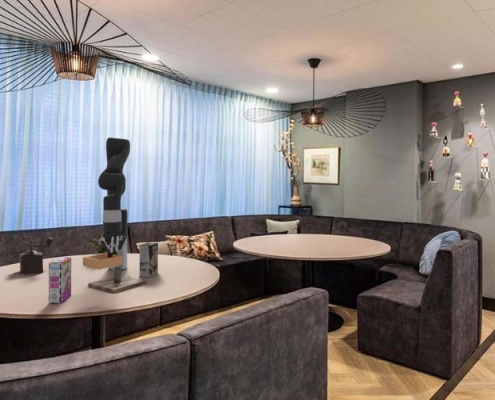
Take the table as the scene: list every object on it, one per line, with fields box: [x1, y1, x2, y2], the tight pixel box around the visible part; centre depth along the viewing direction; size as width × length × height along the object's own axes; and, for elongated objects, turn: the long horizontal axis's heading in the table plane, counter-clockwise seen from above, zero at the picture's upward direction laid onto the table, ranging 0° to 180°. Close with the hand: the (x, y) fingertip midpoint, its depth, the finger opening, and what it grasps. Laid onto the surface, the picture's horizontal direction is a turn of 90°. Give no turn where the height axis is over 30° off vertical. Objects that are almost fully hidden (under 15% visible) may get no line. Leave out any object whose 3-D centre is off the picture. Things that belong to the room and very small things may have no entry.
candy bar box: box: [48, 256, 72, 305], centre depth 154 cm, size 11×5×16 cm, turn 5°
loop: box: [82, 253, 122, 271], centre depth 158 cm, size 11×11×4 cm
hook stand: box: [87, 266, 147, 294], centre depth 176 cm, size 18×18×9 cm
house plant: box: [88, 235, 107, 255], centre depth 224 cm, size 14×14×16 cm
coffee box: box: [138, 242, 159, 278], centre depth 196 cm, size 9×6×16 cm
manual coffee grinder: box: [19, 237, 54, 275], centre depth 200 cm, size 16×11×18 cm
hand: (112, 260), depth 163 cm, fingers closed on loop, 1 cm apart
